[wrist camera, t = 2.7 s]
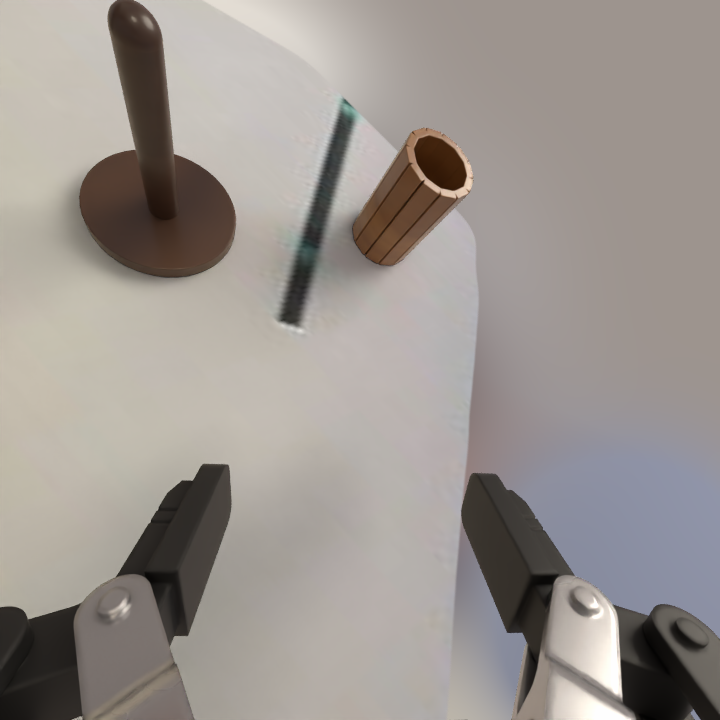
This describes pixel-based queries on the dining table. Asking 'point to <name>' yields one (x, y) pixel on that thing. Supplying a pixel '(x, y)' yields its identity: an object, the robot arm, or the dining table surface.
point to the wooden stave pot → (412, 196)
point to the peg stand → (153, 171)
